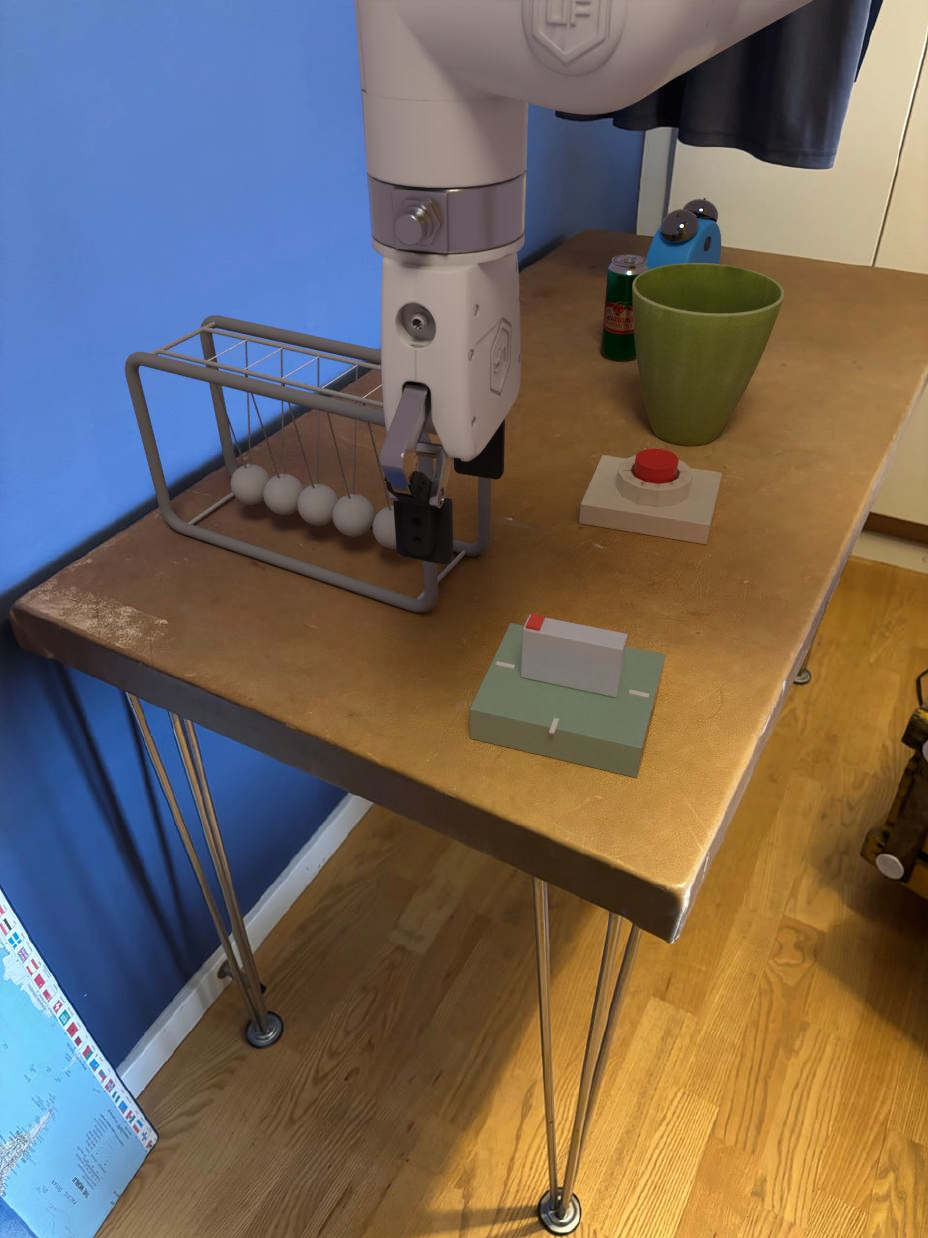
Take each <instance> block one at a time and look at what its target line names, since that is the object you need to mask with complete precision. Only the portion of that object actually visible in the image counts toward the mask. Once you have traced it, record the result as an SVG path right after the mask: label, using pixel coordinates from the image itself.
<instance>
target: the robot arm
mask: <svg viewBox="0 0 928 1238" xmlns="http://www.w3.org/2000/svg"><path fill="white" fill-rule="evenodd" d="M813 1H814V0H354V12H355V13H354V14H355V27H356V29H355V30H356V41H357V55H358V69H359V70H358V71H359V83H360V98H361V109H362V111H361V112H362V122H363V123H362V124H363V125H362V126H363V137H364V149H365V163H366V164H365V165H366V181H367V196H368V197H367V198H368V211H369V212H368V213H369V223H370V225H369V227H370V237H371V238H370V239H371V247H372V250H374V251H375V253H377V254H379V255H380V256H382V264H381V266H382V267H381V281H380V283H381V285H380V292H381V293H380V350H381V364H380V366H381V371H380V373H381V374H380V375H381V384H382V386H381V393H382V402H383V408H382V410H383V411H384V418H385V426H386V427H385V432H386V436H385V439H384V441H383V444H382V446H381V450H380V453H379V463H380V467H381V471H382V473H383V474H384V484H385V488H386V491H388V495H389V496H388V497H389V499H390V500H391V501H392V506H394V520H395V535H396V549H395V550H396V554H398V556H400V557H402V558H405V559H411V560H418V561H422V562H423V561H428V562H433V563H437V565H445V566H446V565H449V564H450V563H451V562H452V560H453V558H454V552H453V539H454V521H453V520H454V519H453V498H448V497H446V496H447V490H448V485H449V481H450V475H451V472H452V471H451V470H452V466H453V470H454V472H455V473H457V474H459V475H465V476H472V477H477V478H478V477H483V478H489V479H491V480H495V481H496V480H500V479H501V478H502V477H503V475H504V473H505V445H506V444H505V443H506V442H505V440H506V437H505V436H506V417H507V415H508V414H509V412H510V411H511V409H512V407H513V405H514V404H515V403H516V401H517V398H518V396H519V394H520V389H521V381H522V380H521V379H522V378H521V377H522V373H521V372H522V364H521V363H522V361H521V360H522V359H521V358H522V357H521V353H522V350H521V348H522V347H521V298H520V297H521V296H520V275H519V272H520V271H519V259H518V252H519V251H521V249H522V248H523V247H524V245H525V235H526V233H525V229H526V203H527V201H526V200H527V199H526V198H527V196H526V195H527V167H528V166H527V162H528V161H527V160H528V135H529V133H528V131H529V105H534V106H538V107H541V108H545V109H548V110H552V111H557V112H562V113H568V114H574V115H575V114H576V115H602V114H608V113H612V112H615V111H621V110H623V109H625V108H628V107H630V106H632V105H634V104H636V103H637V102H639V101H641V100H643V99H644V98H646V97H648V96H649V95H651V94H652V93H654V92H655V91H657V90H658V89H660V88H662V87H663V86H665V85H666V84H668V83H669V82H671V81H672V80H674V79H676V78H677V77H680V76H681V75H683V74H685V73H687V72H689V71H691V70H692V69H693V68H695V67H697V66H699V65H700V64H702V63H704V62H706V61H707V60H709V59H711V58H712V57H714V56H716V55H718V54H719V53H721V52H723V51H725V50H727V49H728V48H730V47H732V46H733V45H735V44H738V43H740V42H741V41H742V40H744V39H746V38H748V37H750V36H751V35H754V34H755V33H758V31H760V30H762V29H764V28H766V27H768V26H770V25H771V24H773V23H775V22H777V21H778V20H780V19H782V18H784V17H786V16H788V15H789V14H791V13H794V11H796V10H799V9H800V8H801V7H804V6H805V5H808V4H809V3H811V2H813ZM422 433H427V434H428V435H435V436H438V439H439V441H440V443H433V442H432V443H428V442H422V441H420V438H421V435H422ZM418 456H421V457H428V458H433V460H434V459H435V462H434V463H435V464H434V473H433V478H432V481H431V480H430V479H429V478H428V477H427V476H426V475H425V474H424V473H423V472H419V470H417V468H418V467H417V466H418V462H417V460H416V459H417V458H416V457H418Z"/></svg>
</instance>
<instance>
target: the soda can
mask: <svg viewBox="0 0 928 1238" xmlns="http://www.w3.org/2000/svg"><path fill="white" fill-rule="evenodd" d="M646 258H647V257H644V256H641V255H637V254H619V255H615V256H613V257H612V258H611V263H610V264H609V265H608V267H607V274H606V286H605V295H604V296H605V297H604V309H603V318H602V319H603V321H602V330H601V331H602V332H601V344H600V352H601V353H602V354H603V356H604V357H605V358H607V359H609V360H612V361H616V362H627V361H631V360H634V359H635V358H637V356H636V347H635V337H634V323H633V295H632V284H633V281H634V279H635V278H636V277H637V276H638V275H640V274H641V273H643V272H645V271H647V270H650V269H649V267H648V265H647V262H648V261H647V259H646Z"/></svg>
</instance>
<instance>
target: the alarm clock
mask: <svg viewBox="0 0 928 1238" xmlns="http://www.w3.org/2000/svg"><path fill="white" fill-rule="evenodd" d="M718 220H719V211H718V209H717V207H716V205H715V204H714V203H712V202H711V201H710V200H707V198H706V197H703V198H696V199H692V200H690V201H688V202H686V203H685V204H684V206H683V207H682V208H679V209H675V210H673V211H670V212H669V213H668V214H666V215H665V216H664V218H663V219H662V221H661V223H660V226H659V227H658V229H657V230H656V232H655V233H654V236H653V238H652V241H651V243H650V245H649V248H648V251H647V254H646V257H645V258H646V259H647V261H648V262H647V265H648V267H649V269H653V268H656V267H661V266H665V265H672V264H682V263H710V264H720V261H721V254H722V234H721V229H720V227H719V224H718Z"/></svg>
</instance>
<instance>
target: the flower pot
mask: <svg viewBox="0 0 928 1238" xmlns="http://www.w3.org/2000/svg"><path fill="white" fill-rule="evenodd" d="M632 295H633V323H634V337H635V347H636V356H637V357H636V363H637V370H638V377H639V381H640V386H641V393H642V397H643V400H644V405H645V410H646V414H647V417H648V420H649V425H650V427H651V431H652V433H653V434H654V436H656V437H657V438H659V439H660V440H662V441H664V442H666V443H670V444H673V445H677V446H685V447H686V446H687V447H694V446H695V447H696V446H702V445H707V444H709V443H712V442H713V441H715V440H716V439H717V438H718V437H719V436H720V435H721V433H722V431H723V430H724V428H725V426H726V425H727V423H728V421H729V420H730V418H731V416H732V415H733V413H734V412H735V410H736V408H737V407H738V405H739V403H740V401H741V399H742V397H743V395H744V394H745V392H746V390H747V388H748V386H749V384H750V382H751V380H752V378H753V376H754V374H755V372H756V370H757V367H758V365H759V363H760V361H761V358H762V356H763V355H764V352H765V350H766V347H767V345H768V343H769V340H770V339H771V338H770V337H771V335H772V332H773V330H774V326H775V324H776V321H777V319H778V316H779V313H780V310H781V308H782V305H783V301H784V299H785V290H784V288H783V286H782V285H781V284H780V283H779V282H778V281H776V279H773V278H772V277H770V276H769V275H768V276H767V274H764V273H761V272H758V271H756V270H752V269H749V268H744V267H739V266H735V265H729V264H721V263H719V264H710V263H682V264H672V265H665V266H661V267H656V268H653V269H650V270H647V271H645V272H643V273H641V274H640V275H638V276H637V277H636V278H635V279H634V281H633V284H632Z"/></svg>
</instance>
